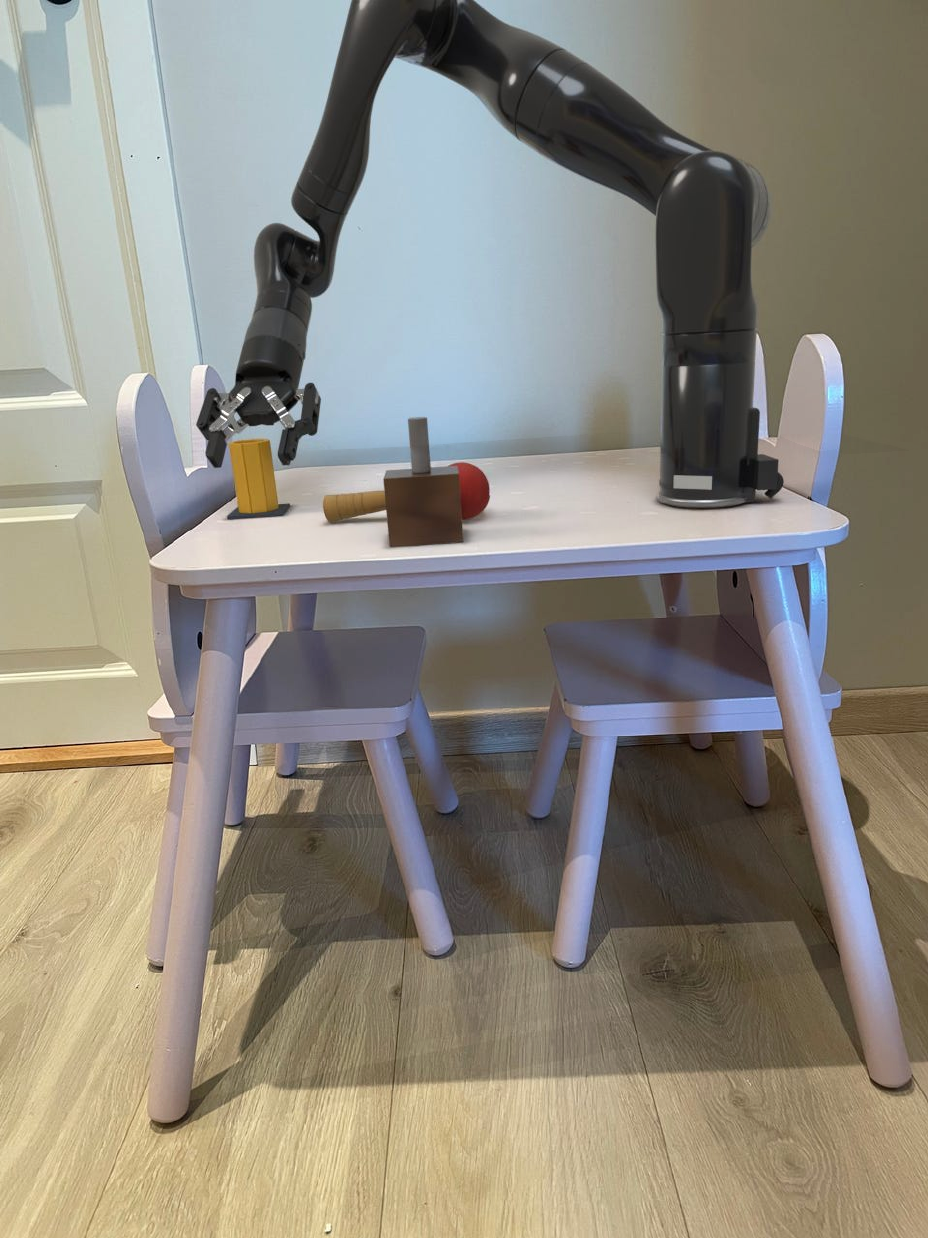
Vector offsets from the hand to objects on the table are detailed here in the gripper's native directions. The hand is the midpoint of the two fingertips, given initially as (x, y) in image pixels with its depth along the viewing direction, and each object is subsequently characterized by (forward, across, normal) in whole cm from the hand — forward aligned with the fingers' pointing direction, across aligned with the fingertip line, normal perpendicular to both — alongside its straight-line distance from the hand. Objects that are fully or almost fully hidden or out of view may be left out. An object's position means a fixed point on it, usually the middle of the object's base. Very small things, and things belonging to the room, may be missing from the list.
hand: (248, 462), depth 95 cm
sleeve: (+3, 0, +5) cm, 6 cm away
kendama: (+8, +20, +1) cm, 21 cm away
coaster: (+4, 0, +5) cm, 6 cm away
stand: (+14, +24, -5) cm, 28 cm away
